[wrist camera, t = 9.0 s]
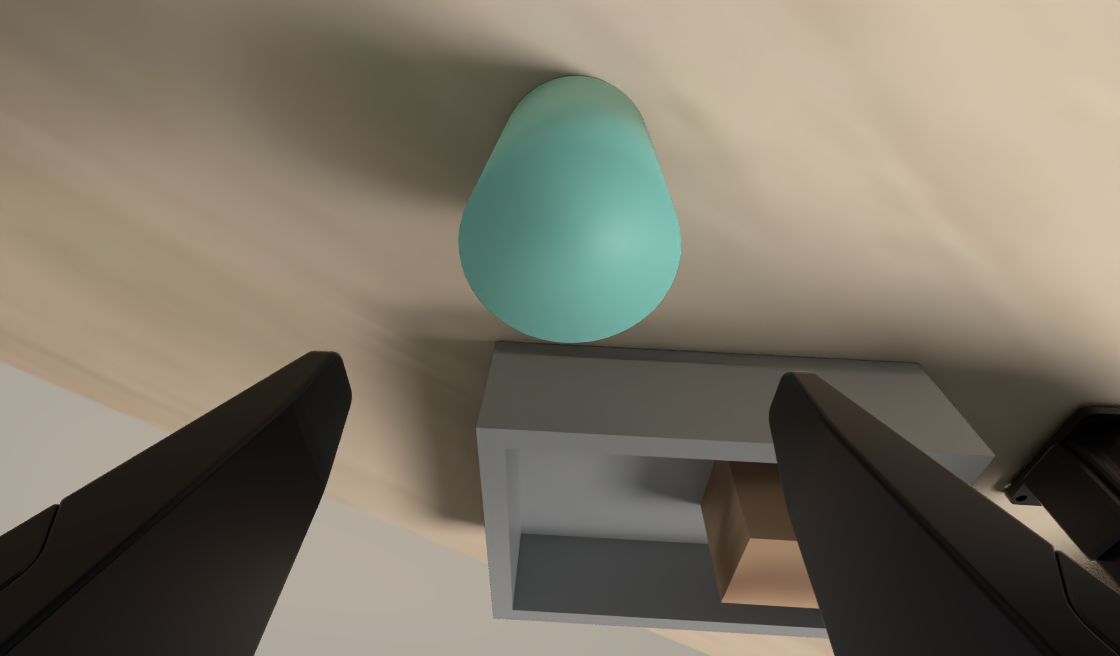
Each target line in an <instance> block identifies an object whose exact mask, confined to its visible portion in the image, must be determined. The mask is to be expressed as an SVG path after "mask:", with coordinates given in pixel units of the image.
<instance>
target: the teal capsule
mask: <svg viewBox="0 0 1120 656" xmlns="http://www.w3.org/2000/svg"><path fill="white" fill-rule="evenodd" d="M459 254H460V259H461V264H462V267H463V270H464V273H465V276H466V278H467V280H468V282H469V284H470V286H471V288H472V290H473V291H474V293H475V294H476V296H477V297H478V299H479V300H480V301H481V302H482V303H483V305H484V306H485V307H486V308H487V309H488V310H489V311H490V312H491V313H492V314H493V315H495V316H496V317H497V318H498V319H500V320H501V321H502V322H504V323H505V324H507V325H508V326H510V327H512V328H514V329H516V330H517V331H520V332H522V333H524V334H527V335H529V336H532V337H536V338H539V339H542V340H548V341H553V342H562V343H582V342H590V341H595V340H600V339H604V338H607V337H610V336H613V335H616V334H618V333H621V332H623V331H625V330H627V329H629V328H631V327H632V326H634V325H635V324H637V323H639V322H640V321H641V320H643V319H644V318H645V317H646V316H648V315H649V314H650V313H651V312H652V311H653V310H654V309H655V308H656V307H657V306H658V305H659V303H660V302H661V301H662V299H663V298H664V297H665V295H666V294H667V292H668V290H669V289H670V287H671V285H672V283H673V281H674V278H675V276H676V273H677V270H678V266H679V262H680V256H681V231H680V226H679V222H678V218H677V215H676V212H675V209H674V206H673V203H672V200H671V197H670V194H669V191H668V188H667V185H666V183H665V180H664V177H663V174H662V171H661V168H660V165H659V162H658V159H657V156H656V153H655V150H654V147H653V145H652V142H651V139H650V136H649V133H648V130H647V127H646V124H645V122H644V119H643V117H642V115H641V114H640V112H639V110H638V109H637V107H636V106H635V104H634V103H633V102H632V101H631V100H630V99H629V98H628V97H627V96H626V95H625V94H624V93H623V92H622V91H620V90H619V89H618V88H616V87H614V86H613V85H611V84H609V83H607V82H604V81H602V80H599V79H596V78H592V77H587V76H566V77H561V78H556V79H553V80H551V81H548V82H545V83H544V84H542V85H540V86H538V87H536V88H535V89H534V90H532V91H531V92H529V93H528V94H527V95H526V96H525V97H524V98H523V99H522V100H521V101H520V102H519V104H518V105H517V106H516V107H515V109H514V111H513V112H512V114H511V116H510V117H509V119H508V121H507V123H506V125H505V127H504V130H503V132H502V134H501V136H500V138H499V140H498V142H497V144H496V146H495V148H494V150H493V152H492V154H491V156H490V158H489V160H488V162H487V164H486V166H485V168H484V170H483V172H482V174H481V176H480V178H479V180H478V182H477V184H476V186H475V188H474V190H473V192H472V194H471V196H470V198H469V200H468V203H467V205H466V208H465V210H464V212H463V216H462V220H461V224H460V231H459Z"/></svg>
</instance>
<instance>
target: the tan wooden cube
mask: <svg viewBox="0 0 1120 656" xmlns="http://www.w3.org/2000/svg"><path fill="white" fill-rule="evenodd" d="M701 510H702V515H703V520H704V524H705V529H706V534H707V538H708V543H709V548H710V553H711V557H712V562H713V567H714V571H715V576H716V581H717V585H718V590H719V595H720V600H721V602H722V603H738V604H754V605H770V606H786V607H802V608H818V609H819V607H818V604H817V600H816V597H815V594H814V591H813V588H812V585H811V582H810V579H809V576H808V573H807V570H806V567H805V564H804V561H803V558H802V555H801V552H800V549H799V546H798V543H797V540H796V537H795V534H794V530H793V527H792V524H791V521H790V518H789V514H788V511H787V507H786V502H785V498H784V494H783V489H782V484H781V479H780V474H779V469H778V464H777V463H761V462H743V461H725V460H715V462H714V465H713V468H712V471H711V474H710V477H709V480H708V483H707V486H706V489H705V492H704V495H703V498H702V501H701Z"/></svg>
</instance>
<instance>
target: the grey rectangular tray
mask: <svg viewBox="0 0 1120 656" xmlns="http://www.w3.org/2000/svg"><path fill="white" fill-rule="evenodd" d="M787 371H809V372H813V373H815V374H817V375H818V376H820V377H821V378H822V379H824V380H825V381H827V382H828V383H829V384H831V385H832V386H833V387H835V388H836V389H838V390H839V391H840V392H842V393H843V394H845V395H846V396H847V397H849V398H850V399H851V400H853V401H854V402H856V403H857V404H858V405H860V406H861V407H862V408H864V409H865V410H867V411H868V412H869V413H871V414H872V415H874V416H875V417H876V418H878V419H879V420H880V421H882V422H883V423H885V424H886V425H887V426H889V427H890V428H892V429H893V430H894V431H896V432H897V433H898V434H900V435H901V436H903V437H904V438H905V439H907V440H908V441H909V442H911V443H912V444H914V445H915V446H916V447H918V448H919V449H921V450H922V451H923V452H925V453H926V454H927V455H929V456H930V457H932V458H933V459H934V460H936V461H937V462H939V463H940V464H941V465H943V466H944V467H945V468H947V469H948V470H950V471H951V472H952V473H954V474H955V475H956V476H958V477H959V478H961V479H962V480H963V481H965V482H966V483H968V484H969V485H970V486H972V484H973V483H974V482H975V481H976V480H977V478H978V477H979V476H980V475H981V473H982V472H983V471H984V470H985V468H986V467H987V466H988V465H989V463H990V462H991V461H992V460H993V458H994V457H995V455H994V453H993V452H992V451H991V450H990V449H989V447H988V446H987V445H986V444H985V443H984V441H983V440H982V439H981V438H980V437H979V435H978V434H977V433H976V432H975V431H974V429H973V428H972V427H971V426H970V425H969V424H968V422H967V421H966V420H965V419H964V418H963V416H962V415H961V414H960V413H959V412H958V410H957V409H956V408H955V407H954V406H953V404H952V403H951V402H950V401H949V400H948V398H947V397H946V396H945V395H944V394H943V392H942V391H941V390H940V389H939V388H938V386H937V385H936V384H935V383H934V382H933V380H932V379H931V378H930V377H929V376H928V374H927V373H926V372H925V371H924V370H923V368H922V367H921V366H920V365H919V364H918V363H902V362H883V361H863V360H844V359H825V358H805V357H786V356H767V355H747V354H728V353H709V352H689V351H670V350H651V349H631V348H612V347H592V346H573V345H554V344H534V343H515V342H496V345H495V349H494V354H493V358H492V362H491V366H490V370H489V375H488V379H487V383H486V387H485V391H484V396H483V400H482V404H481V408H480V412H479V417H478V421H477V425H476V435H477V446H478V457H479V468H480V478H481V489H482V500H483V511H484V522H485V533H486V544H487V555H488V566H489V576H490V587H491V598H492V609H493V618H495V619H496V618H497V619H512V620H530V621H546V622H563V623H579V624H596V625H613V626H629V627H646V628H663V629H679V630H696V631H713V632H730V633H746V634H763V635H780V636H797V637H813V638H829V637H828V634H827V631H826V628H825V625H824V622H823V619H822V616H821V613H820V610H819V609H818V608H802V607H786V606H770V605H754V604H738V603H722V602H721V600H720V595H719V590H718V585H717V581H716V576H715V571H714V567H713V562H712V557H711V553H710V548H709V543H708V538H707V534H706V529H705V524H704V520H703V515H702V510H701V501H702V498H703V495H704V492H705V489H706V486H707V483H708V480H709V477H710V474H711V471H712V468H713V465H714V462H715V460H725V461H743V462H761V463H777V460H776V455H775V450H774V445H773V440H772V435H771V430H770V425H769V409H770V406H771V403H772V400H773V398H774V395H775V392H776V390H777V387H778V384H779V382H780V379H781V377H782V375H783V374H784V373H785V372H787Z"/></svg>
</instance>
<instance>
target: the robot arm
mask: <svg viewBox="0 0 1120 656" xmlns="http://www.w3.org/2000/svg"><path fill="white" fill-rule="evenodd" d="M351 400H352V392H351V387H350V384H349V380H348V377H347V374H346V370H345V367H344V363H343V360H342V358H341V356H340V355H339V354H338V353H336V352H333V351H311V352H308V353H307V354H305V355H303V356H302V357H300V358H298V359H296V360H295V361H293V362H291V363H290V364H288V365H286V366H285V367H283V368H281V369H280V370H278V371H276V372H275V373H273V374H271V375H270V376H268V377H266V378H265V379H263V380H261V381H260V382H258V383H256V384H255V385H253V386H251V387H250V388H248V389H246V390H245V391H243V392H241V393H240V394H238V395H236V396H235V397H233V398H231V399H230V400H228V401H226V402H225V403H223V404H221V405H220V406H218V407H216V408H215V409H213V410H211V411H210V412H208V413H206V414H205V415H203V416H201V417H199V418H198V419H196V420H194V421H193V422H191V423H189V424H188V425H186V426H184V427H183V428H181V429H179V430H178V431H176V432H174V433H173V434H171V435H170V436H168V437H166V438H164V439H163V440H161V441H159V442H158V443H156V444H154V445H153V446H151V447H149V448H148V449H146V450H144V451H143V452H141V453H139V454H137V455H136V456H134V457H132V458H131V459H129V460H127V461H126V462H124V463H122V464H121V465H119V466H117V467H116V468H114V469H112V470H111V471H109V472H107V473H106V474H104V475H102V476H101V477H99V478H97V479H96V480H94V481H92V482H91V483H89V484H87V485H86V486H84V487H82V488H81V489H79V490H77V491H76V492H74V493H72V494H70V495H69V496H67V497H65V498H64V499H63V500H62V501H61V502H60V505H59V504H54V505H52V506H50V507H49V508H47V509H45V510H44V511H42V512H40V513H39V514H37V515H35V516H34V517H32V518H30V519H29V520H27V521H25V522H24V523H22V524H20V525H18V526H17V527H15V528H14V529H12V530H10V531H8V532H7V533H5V534H3V535H1V536H0V656H254V654H255V652H256V649H257V647H258V645H259V642H260V640H261V638H262V635H263V633H264V631H265V628H266V626H267V623H268V621H269V619H270V617H271V615H272V612H273V610H274V607H275V605H276V603H277V600H278V597H279V596H280V594H281V591H282V589H283V587H284V584H285V582H286V579H287V577H288V575H289V573H290V570H291V568H292V566H293V563H294V561H295V559H296V556H297V554H298V552H299V549H300V547H301V545H302V542H303V540H304V537H305V535H306V533H307V530H308V528H309V526H310V524H311V521H312V519H313V517H314V514H315V512H316V510H317V508H318V505H319V503H320V500H321V498H322V495H323V493H324V490H325V487H326V484H327V481H328V478H329V475H330V472H331V469H332V465H333V462H334V459H335V455H336V452H337V449H338V445H339V442H340V439H341V435H342V432H343V429H344V425H345V422H346V419H347V415H348V412H349V409H350V405H351ZM769 425H770V430H771V435H772V440H773V445H774V450H775V455H776V460H777V464H778V469H779V474H780V479H781V484H782V489H783V494H784V498H785V502H786V507H787V511H788V514H789V518H790V521H791V524H792V527H793V530H794V534H795V537H796V540H797V543H798V546H799V549H800V552H801V555H802V558H803V561H804V564H805V567H806V570H807V573H808V576H809V579H810V582H811V585H812V588H813V591H814V594H815V597H816V600H817V604H818V607H819V610H820V613H821V616H822V619H823V622H824V625H825V628H826V631H827V634H828V637H829V640H830V643H831V646H832V649H833V652H834V655H835V656H1120V593H1119V592H1118V591H1116V590H1115V589H1113V588H1112V587H1110V586H1109V585H1108V584H1106V583H1105V582H1103V581H1102V580H1100V579H1099V578H1098V577H1096V576H1095V575H1093V574H1092V573H1091V572H1089V571H1088V570H1087V569H1085V568H1084V567H1082V566H1081V565H1080V564H1078V563H1077V562H1076V561H1074V560H1073V559H1071V558H1070V557H1069V556H1067V555H1066V554H1065V553H1063V552H1062V551H1058V550H1056V551H1055V549H1054V547H1053V545H1052V544H1050V543H1049V542H1048V541H1046V540H1045V539H1044V538H1042V537H1041V536H1039V535H1038V534H1037V533H1035V532H1034V531H1032V530H1031V529H1030V528H1028V527H1027V526H1026V525H1024V524H1023V523H1021V522H1020V521H1019V520H1017V519H1016V518H1015V517H1013V516H1012V515H1010V514H1009V513H1008V512H1006V511H1005V510H1003V509H1002V508H1001V507H999V506H998V505H997V504H995V503H994V502H992V501H991V500H990V499H988V498H987V497H985V496H984V495H983V494H981V493H980V492H979V491H977V490H976V489H974V488H973V487H972V486H970V485H969V484H968V483H966V482H965V481H963V480H962V479H961V478H959V477H958V476H956V475H955V474H954V473H952V472H951V471H950V470H948V469H947V468H945V467H944V466H943V465H941V464H940V463H939V462H937V461H936V460H934V459H933V458H932V457H930V456H929V455H927V454H926V453H925V452H923V451H922V450H921V449H919V448H918V447H916V446H915V445H914V444H912V443H911V442H909V441H908V440H907V439H905V438H904V437H903V436H901V435H900V434H898V433H897V432H896V431H894V430H893V429H892V428H890V427H889V426H887V425H886V424H885V423H883V422H882V421H880V420H879V419H878V418H876V417H875V416H874V415H872V414H871V413H869V412H868V411H867V410H865V409H864V408H862V407H861V406H860V405H858V404H857V403H856V402H854V401H853V400H851V399H850V398H849V397H847V396H846V395H845V394H843V393H842V392H840V391H839V390H838V389H836V388H835V387H833V386H832V385H831V384H829V383H828V382H827V381H825V380H824V379H822V378H821V377H820V376H818V375H817V374H815V373H813V372H809V371H787V372H785V373H784V374H783V375H782V377H781V379H780V382H779V384H778V387H777V390H776V392H775V395H774V398H773V400H772V403H771V406H770V409H769ZM1005 496H1006V497H1007V499H1008V500H1009V501H1010V502H1011V503H1012V504H1017V505H1035V506H1043V507H1044V508H1045V509H1046V511H1047V512H1048V513H1049V514H1050V515H1051V516H1052V518H1053V519H1054V520H1055V521H1056V522H1057V524H1058V525H1059V526H1060V527H1061V528H1062V529H1063V531H1064V532H1065V533H1066V534H1067V535H1068V537H1069V538H1070V539H1071V540H1072V541H1073V542H1074V544H1075V545H1076V546H1077V547H1078V548H1079V550H1080V551H1081V552H1082V553H1083V554H1084V556H1085V557H1087V558H1088V559H1089V560H1092V561H1095V562H1096V563H1097V564H1098V565H1099V566H1100V568H1101V569H1102V570H1103V571H1104V572H1105V573H1106V575H1107V576H1108V577H1109V578H1110V579H1111V580H1112V582H1113V583H1114V584H1115V585H1116V586H1117V587H1118V589H1119V590H1120V408H1108V407H1086V408H1082V409H1080V410H1078V411H1077V412H1076V413H1074V414H1073V415H1072V416H1071V418H1070V419H1069V420H1068V421H1067V422H1066V423H1065V424H1064V426H1063V427H1062V428H1061V429H1060V430H1059V431H1058V432H1057V434H1056V435H1055V436H1054V437H1053V438H1052V439H1051V440H1050V442H1049V443H1048V444H1047V445H1046V446H1045V447H1044V448H1043V450H1042V451H1041V452H1040V453H1039V454H1038V455H1037V456H1036V458H1035V459H1034V460H1033V461H1032V462H1031V463H1030V464H1029V466H1028V467H1027V468H1026V469H1025V470H1024V471H1023V472H1022V473H1021V475H1020V476H1019V477H1018V478H1017V479H1016V480H1015V481H1014V483H1013V484H1012V485H1011V486H1010V487H1009V488H1008V489H1007V491H1006V492H1005Z"/></svg>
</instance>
